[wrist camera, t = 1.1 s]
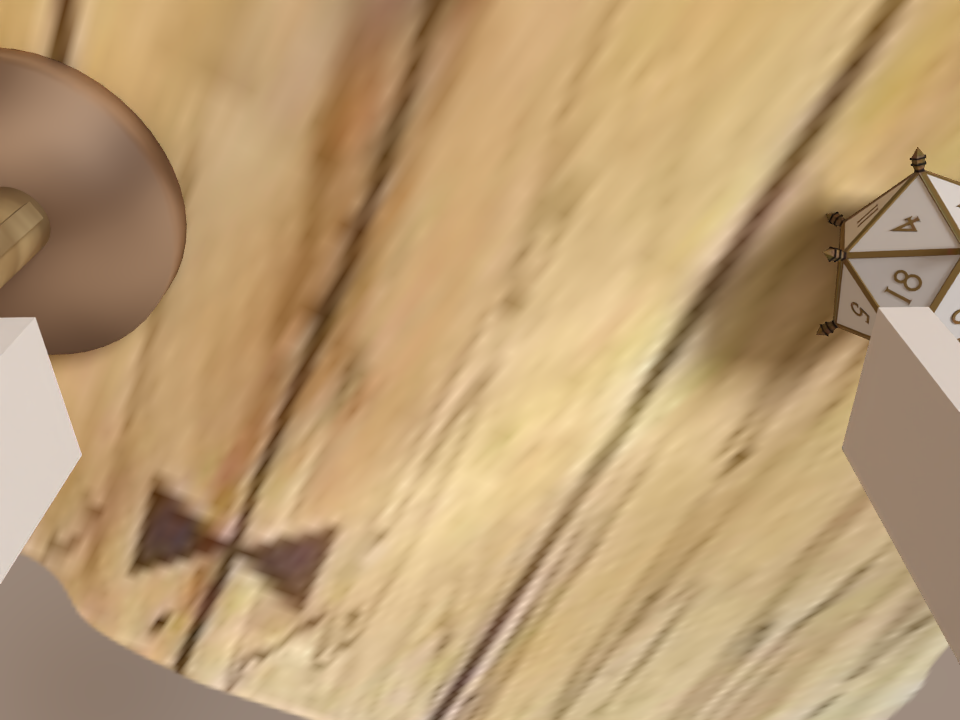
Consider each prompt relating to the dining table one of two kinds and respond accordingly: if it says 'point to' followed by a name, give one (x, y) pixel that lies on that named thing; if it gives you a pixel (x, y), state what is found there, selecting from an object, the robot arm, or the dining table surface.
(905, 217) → the game die
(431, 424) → the dining table surface
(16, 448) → the robot arm
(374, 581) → the dining table surface
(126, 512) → the dining table surface
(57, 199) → the round base with post
